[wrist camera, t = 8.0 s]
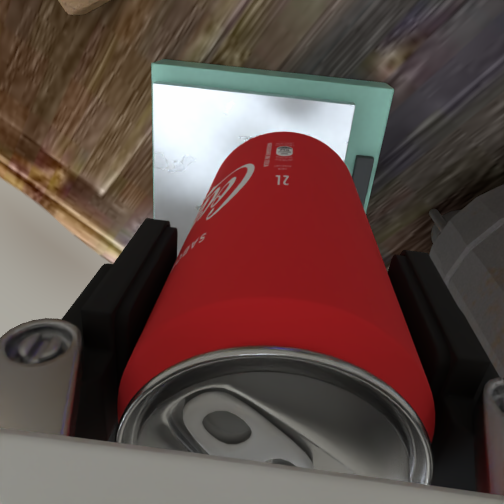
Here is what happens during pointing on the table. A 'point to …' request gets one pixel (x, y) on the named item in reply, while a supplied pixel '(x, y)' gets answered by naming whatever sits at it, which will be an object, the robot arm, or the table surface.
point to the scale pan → (225, 137)
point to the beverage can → (281, 329)
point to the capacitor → (475, 266)
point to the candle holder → (81, 6)
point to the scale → (332, 88)
